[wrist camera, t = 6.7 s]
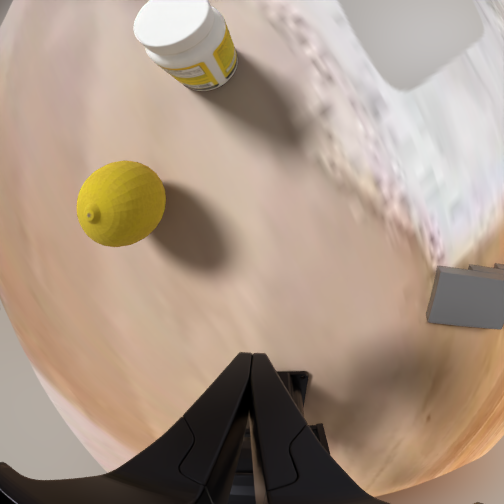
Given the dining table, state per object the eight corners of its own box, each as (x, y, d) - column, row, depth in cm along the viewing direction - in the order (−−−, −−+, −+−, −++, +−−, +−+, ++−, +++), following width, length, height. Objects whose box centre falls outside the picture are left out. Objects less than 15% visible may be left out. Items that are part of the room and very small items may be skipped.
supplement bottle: (216, 30, 16) (188, -29, 8) (251, 68, 17) (238, 13, 9) (165, 64, 17) (113, 22, 9) (197, 104, 18) (152, 71, 10)
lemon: (129, 235, 21) (71, 271, 14) (112, 172, 20) (46, 182, 12) (188, 220, 20) (144, 254, 13) (170, 150, 19) (116, 147, 11)
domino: (437, 265, 20) (511, 275, 16) (425, 313, 22) (497, 321, 18) (440, 271, 19) (517, 282, 15) (427, 322, 21) (501, 329, 17)
